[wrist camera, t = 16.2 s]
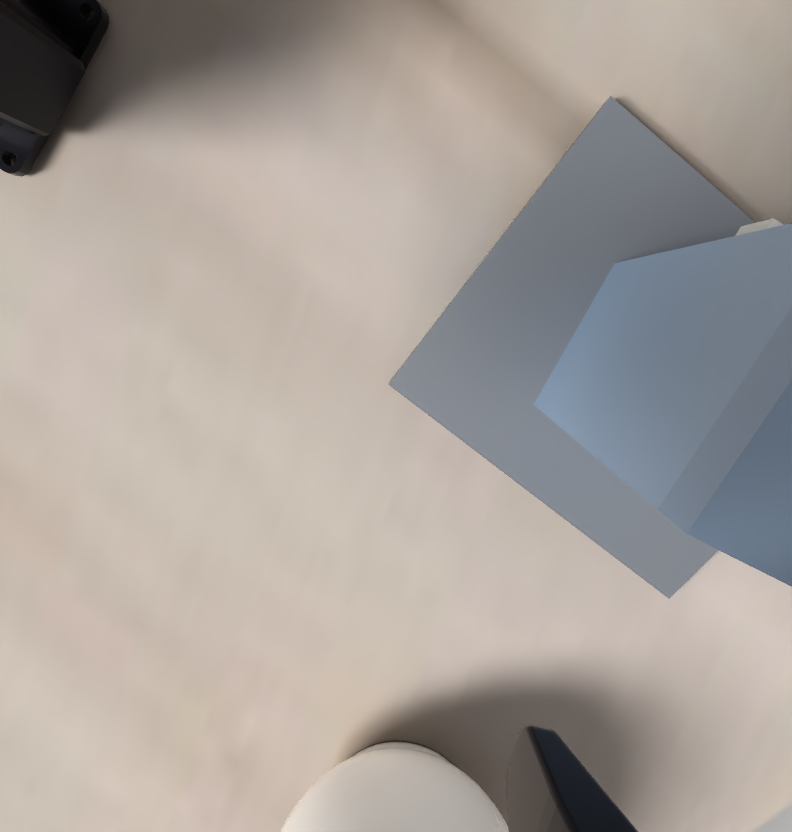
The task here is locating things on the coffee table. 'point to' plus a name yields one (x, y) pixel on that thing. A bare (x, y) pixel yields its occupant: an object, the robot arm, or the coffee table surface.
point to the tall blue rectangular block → (693, 389)
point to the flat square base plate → (567, 330)
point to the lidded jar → (395, 795)
